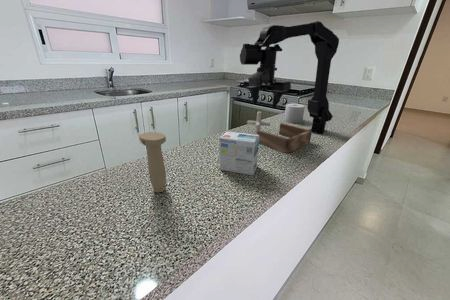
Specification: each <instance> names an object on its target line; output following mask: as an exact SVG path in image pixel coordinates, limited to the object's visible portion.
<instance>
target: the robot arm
mask: <svg viewBox="0 0 450 300" xmlns="http://www.w3.org/2000/svg"><path fill="white" fill-rule="evenodd" d="M307 35H308V36H309V37H310V41H311V43H312V45H314V55H315V56H316V59H317V66H316V72H315V73H316V74H315V83H314V90H313V91H314V92H313V96H312V97H311V99H308V100H307V106H306V109H307V112H308V113H309V117H310V118H312V123H311V128H310V129H308V130H311V131H312V133H315V134H318V135H323V134H325V133H327V132H328V130H327V129H326V125H327V122H330V121H332V119H333V117H334V116H333V114H332V113H331V111H330V110H329V109H330V102H329V100H328V97H327V91H328V86H329V78H330V77H329V76H330V70H331V63H332V59H333V58H334V56H335V55H336V53H337V51H338V48H339V43H340V38H339V37H338V36H337V35H336V34H335V33H334V31H332V30H331V29H330V28H328V27H326V26H325V25H324V23H322V21H319V20H318V21H317V20H316V21H312V22H310V23H309V22H308V23H304V24H297V25H289V26H286V25H277V24H276V25H275V24H274V25H270V26H266V27H263V28H262V29H261V31H260V32H259V35H258V38H257V40H256V41H255V42H254V44H250V43H242V48H241V50H240V53H239V61H240V64H241V65H245V66H247V65H250V66H251V65H252V66H253V65H255V66H256V65H258V64H259V67H257V69H256V72H254V73H252V74H251V75H250V76H248V77H247V78H245V79H244V80H243V87H245V89H247V90H248V91H249V92H250V93H249V94H250V96H251V98H252V102H253V105H255V106H256V105H257V104H258V100H259V94H260V87H264V88H265V87H266V88H267V87H268V88H272V89H273V90H272V94H273V96H272V97H273V98H272V105H271V106H272V109H275V108H276V107H277V105H278V103H279V101H280V99H282V96H283V95H284V94H285V93H286V92H288V91H290V90H291V89H292V83H291V82H290V81H286V80H279V81H278V80H277V79H276V78H275V74H276V73H275V71H278V67H276V62H277V53H278V52H283V48H282V47H281V46H280V44H279V43H281V42H283V41H286V40H287V39H289V38H295V37H301V36H302V37H303V36H307ZM272 45H273V46H272Z"/></svg>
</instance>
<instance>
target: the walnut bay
mask: <svg viewBox="0 0 450 300" xmlns="http://www.w3.org/2000/svg"><path fill="white" fill-rule="evenodd" d="M312 133H313V132H312V131H311V130H309V129H307V128H303V127H299V126H295V125H290V124H288V123H282V122H281V123H279V131H278V134H279V135H280V136H279V135H276V134H273V133H270V132H267V131H264V130H261V129H260V130H258V133H257V134H256V135H259V144H260V145H263V146H265V147H268V148H271V149H274V150H277V151H278V152H282V153H285V154H289V153H291V152H293V151H295V150H297V149H300V148H301V147H303V146H305V145H308V144H310V143H311V138H312ZM282 136H283V137H282ZM286 137H287V138H286Z"/></svg>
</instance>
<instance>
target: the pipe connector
mask: <svg viewBox="0 0 450 300" xmlns="http://www.w3.org/2000/svg"><path fill="white" fill-rule="evenodd" d="M246 125H250V126H252V125H253V126H255V135H257V133H258V130H261V126H265V127H266V126H267V127H268V126H269V127H270V126H271V121H262V111H257V113H256V120H247V121H246Z"/></svg>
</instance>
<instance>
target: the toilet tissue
mask: <svg viewBox="0 0 450 300" xmlns="http://www.w3.org/2000/svg"><path fill="white" fill-rule="evenodd" d="M305 107H306V105H304V104H301V103H288V104H286V105H285V113H284V122H285V121H286V122H285V123H287V124H297V125H298V124H302V123H303V120H304V116H305V115H304V114H305V109H306V108H305Z"/></svg>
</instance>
